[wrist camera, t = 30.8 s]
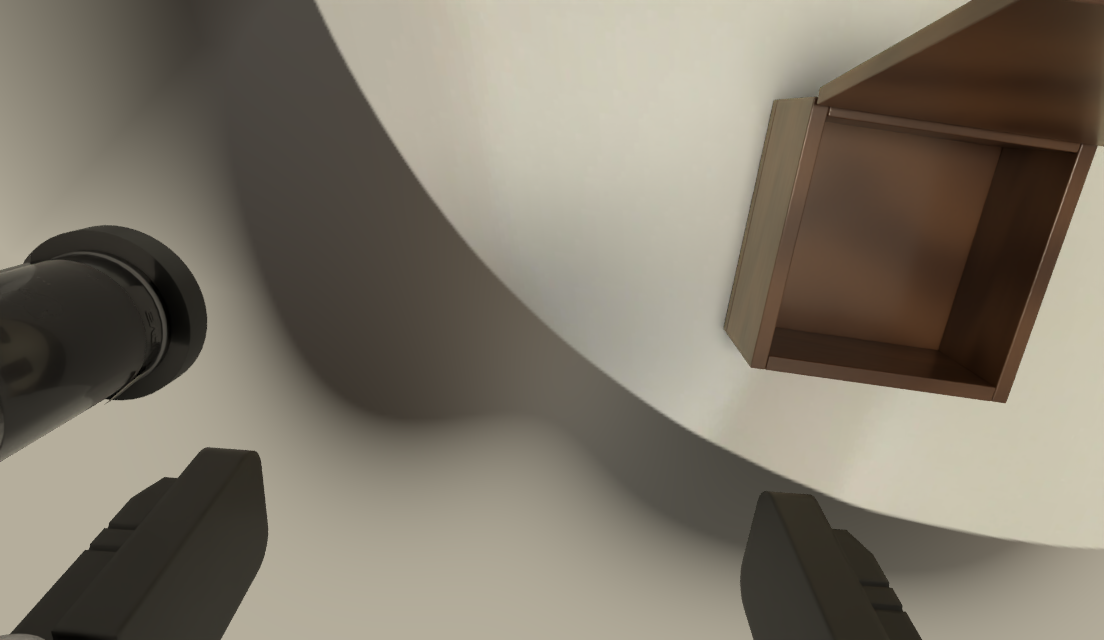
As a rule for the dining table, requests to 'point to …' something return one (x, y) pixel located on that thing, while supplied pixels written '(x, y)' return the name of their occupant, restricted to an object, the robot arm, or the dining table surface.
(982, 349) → the chest
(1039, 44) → the chest lid
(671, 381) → the dining table surface
